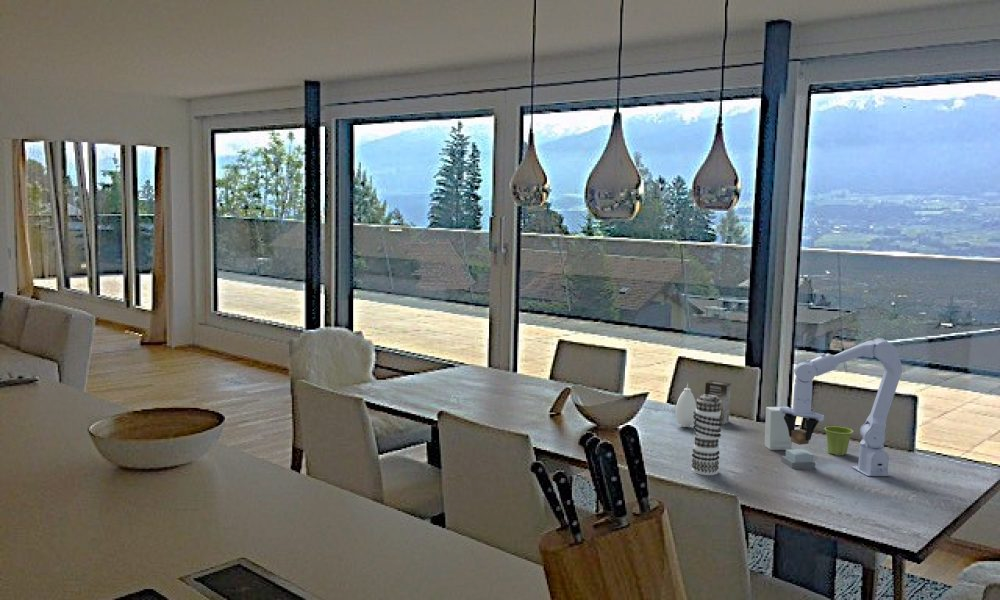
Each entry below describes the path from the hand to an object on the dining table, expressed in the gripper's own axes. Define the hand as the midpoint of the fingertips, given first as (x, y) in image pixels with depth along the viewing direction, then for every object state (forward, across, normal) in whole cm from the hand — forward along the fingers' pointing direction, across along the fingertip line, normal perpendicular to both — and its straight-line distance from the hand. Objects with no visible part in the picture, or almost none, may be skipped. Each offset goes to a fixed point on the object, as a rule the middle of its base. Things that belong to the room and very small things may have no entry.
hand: (799, 438), depth 284 cm
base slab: (+10, 0, 0) cm, 10 cm away
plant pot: (+9, -3, -24) cm, 26 cm away
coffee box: (+9, +50, -33) cm, 60 cm away
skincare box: (+9, +14, -14) cm, 22 cm away
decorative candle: (+9, +17, +31) cm, 37 cm away
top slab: (+7, 0, 0) cm, 7 cm away
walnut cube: (+2, 0, 0) cm, 2 cm away
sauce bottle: (+9, +53, -14) cm, 55 cm away
